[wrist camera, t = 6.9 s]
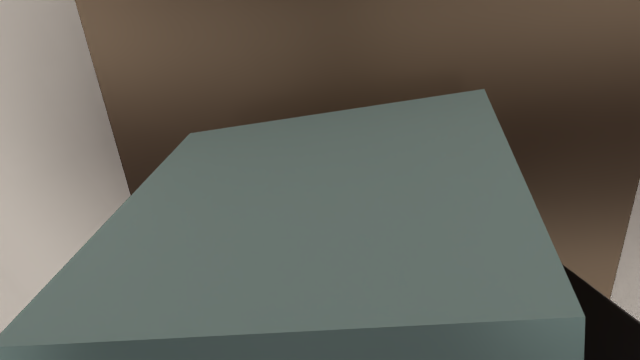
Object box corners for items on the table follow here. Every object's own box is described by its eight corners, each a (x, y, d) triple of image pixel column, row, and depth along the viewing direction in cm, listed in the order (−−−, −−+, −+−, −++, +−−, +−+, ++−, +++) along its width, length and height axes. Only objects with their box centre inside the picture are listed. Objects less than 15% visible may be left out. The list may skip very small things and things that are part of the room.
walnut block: (541, 261, 17) (588, 382, 13) (229, 253, 19) (177, 357, 14) (600, -114, 12) (714, -126, 8) (165, -77, 14) (55, -69, 9)
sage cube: (500, 330, 10) (574, 654, 6) (262, 341, 11) (171, 619, 7) (484, 88, 8) (585, 315, 3) (190, 133, 9) (-13, 347, 5)
